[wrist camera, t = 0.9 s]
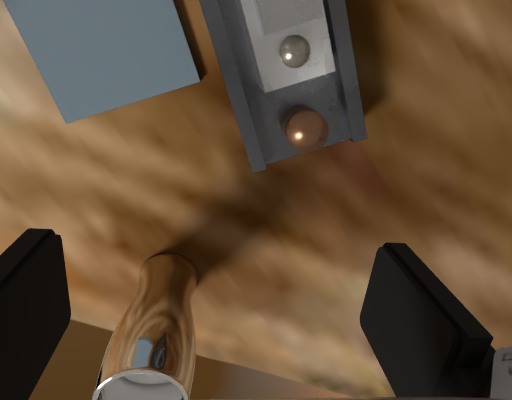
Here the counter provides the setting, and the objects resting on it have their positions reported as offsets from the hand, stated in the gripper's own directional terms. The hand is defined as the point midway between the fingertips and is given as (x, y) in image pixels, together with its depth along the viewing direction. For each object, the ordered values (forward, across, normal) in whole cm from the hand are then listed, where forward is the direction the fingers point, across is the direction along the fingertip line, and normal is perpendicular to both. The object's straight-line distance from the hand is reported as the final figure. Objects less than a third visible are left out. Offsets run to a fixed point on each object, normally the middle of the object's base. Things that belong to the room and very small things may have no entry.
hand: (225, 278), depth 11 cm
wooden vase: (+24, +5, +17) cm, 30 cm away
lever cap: (+21, -3, -9) cm, 23 cm away
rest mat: (+24, +10, -7) cm, 27 cm away
